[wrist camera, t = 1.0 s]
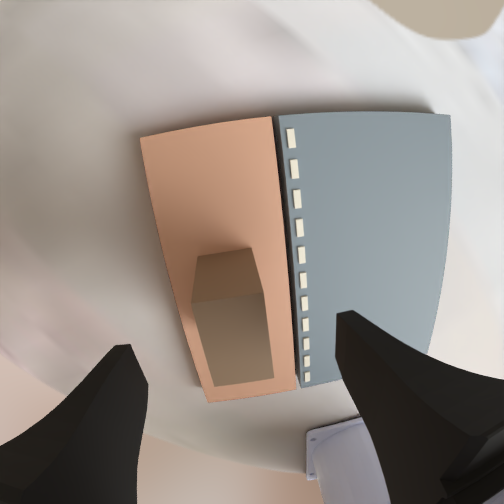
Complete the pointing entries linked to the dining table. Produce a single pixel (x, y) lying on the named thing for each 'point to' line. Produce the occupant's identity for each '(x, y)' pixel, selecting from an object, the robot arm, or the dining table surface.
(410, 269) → the board
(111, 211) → the dining table surface
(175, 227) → the stub
